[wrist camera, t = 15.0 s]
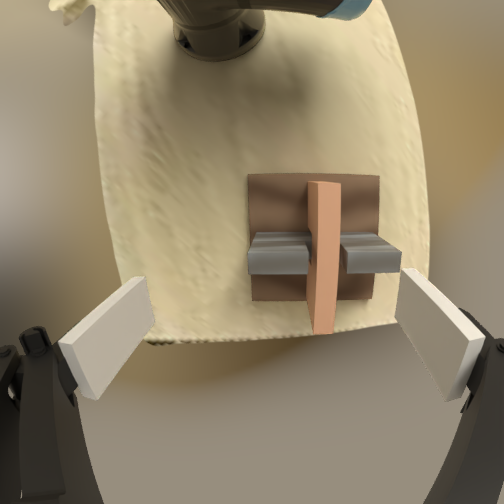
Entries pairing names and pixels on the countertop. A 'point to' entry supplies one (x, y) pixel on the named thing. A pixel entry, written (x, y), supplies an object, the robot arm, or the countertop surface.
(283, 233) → the slotted stand
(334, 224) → the terracotta plate
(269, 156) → the countertop surface
